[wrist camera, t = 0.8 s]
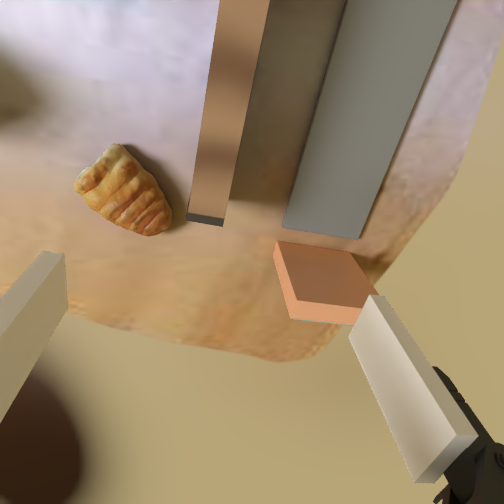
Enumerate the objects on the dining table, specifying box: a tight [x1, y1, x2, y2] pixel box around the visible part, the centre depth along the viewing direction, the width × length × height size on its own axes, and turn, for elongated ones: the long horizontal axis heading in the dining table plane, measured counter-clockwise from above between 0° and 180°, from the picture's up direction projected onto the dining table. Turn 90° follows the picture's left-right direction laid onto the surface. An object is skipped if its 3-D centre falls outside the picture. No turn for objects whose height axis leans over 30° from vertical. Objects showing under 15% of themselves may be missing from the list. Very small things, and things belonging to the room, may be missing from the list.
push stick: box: [186, 0, 270, 227], centre depth 26 cm, size 23×3×8 cm, turn 167°
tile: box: [273, 241, 380, 326], centre depth 35 cm, size 2×9×11 cm, turn 77°
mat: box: [282, 0, 457, 240], centre depth 31 cm, size 28×9×1 cm, turn 167°
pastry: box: [74, 144, 172, 236], centre depth 33 cm, size 9×7×4 cm
